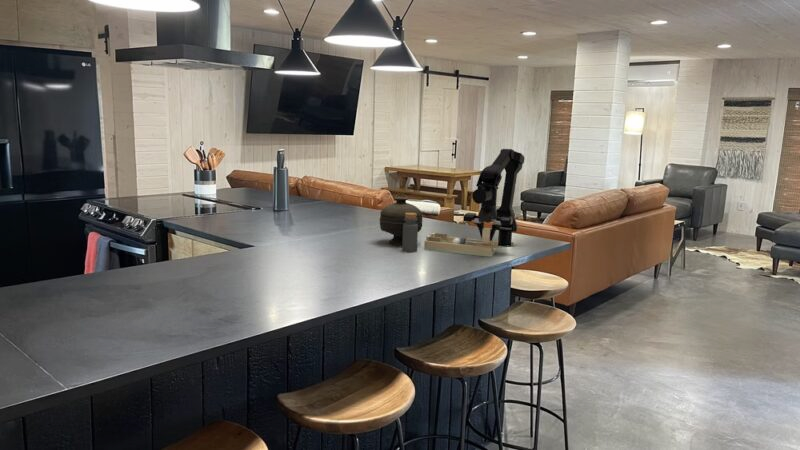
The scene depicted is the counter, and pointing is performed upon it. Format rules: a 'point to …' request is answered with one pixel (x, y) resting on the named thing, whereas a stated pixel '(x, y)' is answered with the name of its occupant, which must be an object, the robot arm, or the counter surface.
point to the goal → (437, 237)
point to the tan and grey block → (485, 238)
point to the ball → (456, 241)
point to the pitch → (462, 247)
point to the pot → (398, 219)
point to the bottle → (410, 233)
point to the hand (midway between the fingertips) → (486, 240)
